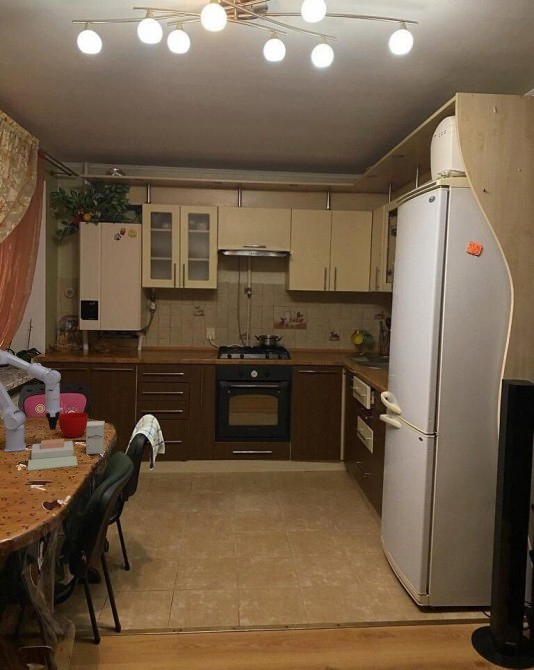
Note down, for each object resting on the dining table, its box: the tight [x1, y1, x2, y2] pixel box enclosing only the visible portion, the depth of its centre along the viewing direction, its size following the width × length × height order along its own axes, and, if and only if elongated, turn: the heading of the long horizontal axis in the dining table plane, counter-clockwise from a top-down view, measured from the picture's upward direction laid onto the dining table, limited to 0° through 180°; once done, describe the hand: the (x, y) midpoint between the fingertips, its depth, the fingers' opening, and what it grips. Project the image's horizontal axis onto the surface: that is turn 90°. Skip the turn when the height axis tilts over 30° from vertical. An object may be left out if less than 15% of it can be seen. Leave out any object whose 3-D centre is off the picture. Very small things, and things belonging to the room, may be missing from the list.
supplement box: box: [85, 420, 106, 455], centre depth 220 cm, size 7×7×13 cm
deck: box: [30, 440, 75, 460], centre depth 215 cm, size 13×16×3 cm
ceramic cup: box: [58, 411, 89, 438], centre depth 244 cm, size 13×17×10 cm
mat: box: [26, 455, 78, 472], centre depth 203 cm, size 12×18×1 cm, turn 113°
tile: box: [40, 438, 65, 449], centre depth 216 cm, size 6×9×2 cm, turn 113°
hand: (52, 429), depth 222 cm, fingers closed
